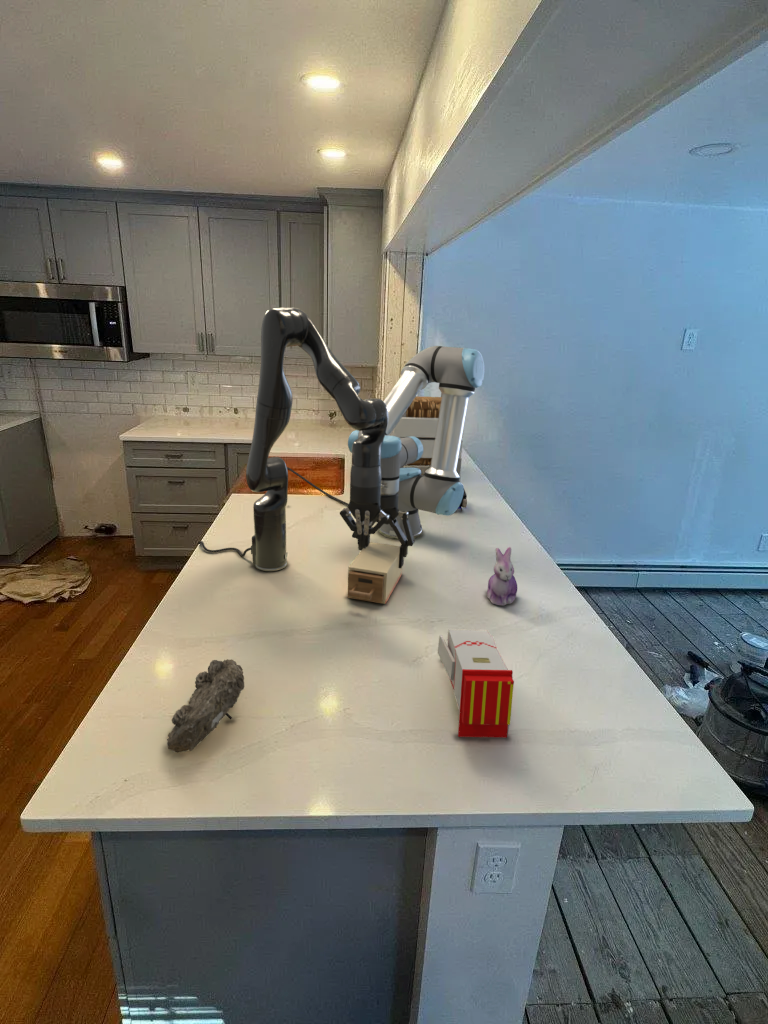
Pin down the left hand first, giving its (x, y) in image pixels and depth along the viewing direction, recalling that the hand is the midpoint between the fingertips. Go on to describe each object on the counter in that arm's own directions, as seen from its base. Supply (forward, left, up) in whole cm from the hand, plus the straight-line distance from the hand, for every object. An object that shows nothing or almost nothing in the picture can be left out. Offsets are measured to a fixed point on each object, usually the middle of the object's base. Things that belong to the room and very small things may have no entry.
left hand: (363, 547), depth 144 cm
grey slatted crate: (-21, +133, -17) cm, 136 cm away
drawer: (-1, +8, -17) cm, 19 cm away
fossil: (-11, -50, -17) cm, 54 cm away
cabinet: (-1, +13, -17) cm, 22 cm away
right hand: (-1, +19, -13) cm, 23 cm away
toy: (+33, -24, -17) cm, 45 cm away
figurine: (+34, +20, -17) cm, 43 cm away
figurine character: (+6, +91, -18) cm, 93 cm away
